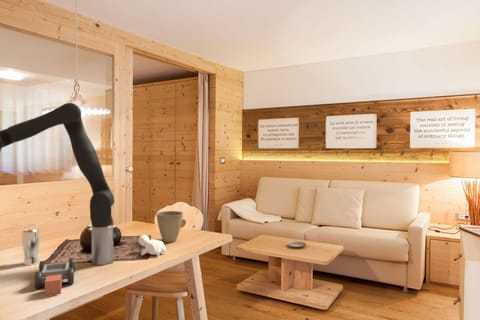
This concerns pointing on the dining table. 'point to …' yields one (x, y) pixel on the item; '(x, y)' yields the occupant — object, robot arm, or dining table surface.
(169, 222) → the plant pot
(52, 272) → the chassis
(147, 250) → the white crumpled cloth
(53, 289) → the terracotta rectangular box
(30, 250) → the beer glass
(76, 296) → the dining table surface
